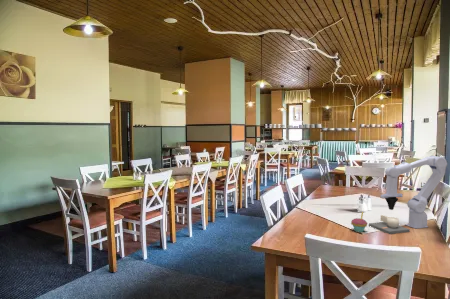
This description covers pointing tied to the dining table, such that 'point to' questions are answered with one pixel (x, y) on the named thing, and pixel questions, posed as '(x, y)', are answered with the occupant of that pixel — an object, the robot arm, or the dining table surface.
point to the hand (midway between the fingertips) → (391, 209)
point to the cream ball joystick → (390, 220)
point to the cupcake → (359, 224)
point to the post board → (389, 228)
